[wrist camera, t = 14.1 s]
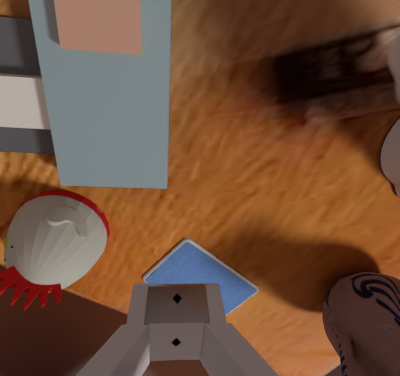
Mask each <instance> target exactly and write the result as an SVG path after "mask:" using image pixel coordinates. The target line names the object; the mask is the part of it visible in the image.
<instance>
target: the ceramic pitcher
mask: <svg viewBox="0 0 400 376" xmlns="http://www.w3.org/2000/svg"><path fill="white" fill-rule="evenodd" d="M323 324H324V328H325V331H326V334H327V337H328V339H329V341H330V342H331V344H332V346H333V347H334V349H335V351H336V352H337V354H338V355H339V357H340V361H341V370H342V376H400V280H399V279H397V278H394V277H391V276H388V275H384V274H380V273H374V272H362V273H357V274H353V275H349V276H347V277H344V278H341V279H340V280H338V282H337V283H336V284H334V286H333V287H332V288H331V289H330V291H329V292H328V294H327V296H326V298H325V301H324V304H323Z"/></svg>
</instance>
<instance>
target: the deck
mask: <svg viewBox="0 0 400 376" xmlns="http://www.w3.org/2000/svg"><path fill="white" fill-rule="evenodd" d="M28 1H29V6H30V12H31V18H32V24H33V30H34V35H35V41H36V47H37V53H38V58H39V64H40V70H41V76H42V82H43V87H44V93H45V99H46V105H47V110H48V116H49V122H50V128H51V134H52V139H53V145H54V151H55V157H56V162H57V168H58V174H59V180H60V185H66V186H97V187H129V188H160V189H167V179H168V143H169V101H170V59H171V17H172V0H141V10H142V55H135V54H122V53H109V52H96V51H83V50H71V49H60V41H59V34H58V27H57V20H56V12H55V5H54V0H28Z"/></svg>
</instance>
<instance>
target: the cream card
mask: <svg viewBox="0 0 400 376" xmlns="http://www.w3.org/2000/svg"><path fill="white" fill-rule="evenodd" d="M0 127H13V128H31V129H50V130H51V128H50V122H49V116H48V110H47V105H46V99H45V93H44V87H43V82H42V76H31V75H17V74H3V73H0Z"/></svg>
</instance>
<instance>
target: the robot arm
mask: <svg viewBox="0 0 400 376" xmlns="http://www.w3.org/2000/svg"><path fill="white" fill-rule="evenodd" d="M381 167H382V171H383V173H384V175H385V176H386V177H387V178H388V179H389V180H390V181H391V182H392V183H393V184H394V186H395V190H396V194H397V196H398V197H399V198H400V119H399V120H398V121H397V122H396V123H395V124H394V126H393V127H392V128H391V130H390V132H389V133H388V135H387V137H386V139H385V141H384V144H383V147H382V151H381ZM175 359H176V360H201V363H202V364H203V366H204V368H205V369H206V371H207V372H208V374H209V376H278V374H277V373H276V372H275V371H274V370H273V369H272V368H271V367H270V366H269V365H268V363H267V362H266V361H265V360H264V359H263V358H262V357H261V356H260V355H259V354H258V352H257V351H256V350H255V349H254V348H253V347H252V346H251V345H250V344H249V343H248V341H247V340H246V339H245V338H244V337H243V336H242V335H241V334H240V333H239V332H238V330H237V329H236V328H235V327H234V326H233V325H232V324H231V323H226V317H225V312H224V306H223V301H222V295H221V290H220V285H219V284H218V283H205V284H204V283H190V284H154V283H149V284H143V283H135V284H134V286H133V290H132V296H131V301H130V307H129V313H128V318H127V324H126V325H121V326H120V328H119V329H118V330H117V331H116V332H115V333H114V334H113V335H112V336H111V337H110V339H109V340H108V341H107V342H106V343H105V344H104V345H103V346H102V347H101V349H100V350H99V351H98V352H97V353H96V354H95V355H94V356H93V357H92V358H91V360H90V361H89V362H88V363H87V364H86V365H85V366H84V367H83V369H82V370H81V371H80V372H79V373H78V374H77V375H76V376H142V375H143V373H144V371H145V370H146V368H147V366H148V365H149V362H150V361H161V360H175Z"/></svg>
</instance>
